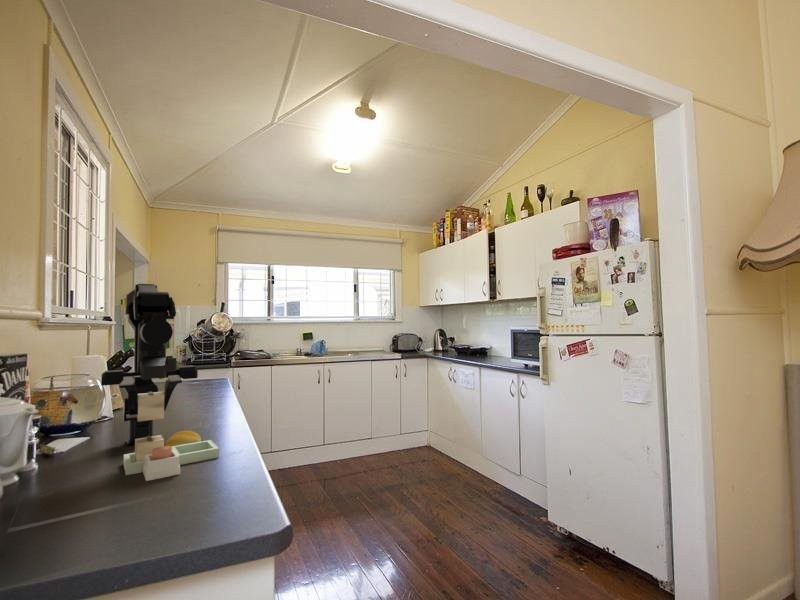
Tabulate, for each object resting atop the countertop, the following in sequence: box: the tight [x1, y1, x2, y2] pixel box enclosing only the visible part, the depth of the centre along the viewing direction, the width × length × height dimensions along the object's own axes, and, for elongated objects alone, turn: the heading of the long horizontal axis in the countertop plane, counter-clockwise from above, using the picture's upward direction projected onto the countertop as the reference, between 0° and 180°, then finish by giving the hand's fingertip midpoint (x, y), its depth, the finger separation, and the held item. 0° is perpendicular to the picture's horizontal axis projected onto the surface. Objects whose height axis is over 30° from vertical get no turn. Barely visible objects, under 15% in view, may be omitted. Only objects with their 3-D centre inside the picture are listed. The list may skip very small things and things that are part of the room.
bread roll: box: [164, 430, 202, 446], centre depth 105 cm, size 8×9×4 cm
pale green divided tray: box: [122, 439, 220, 476], centre depth 93 cm, size 9×18×2 cm, turn 127°
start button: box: [152, 446, 172, 461], centre depth 85 cm, size 4×4×2 cm
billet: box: [137, 391, 165, 422], centre depth 94 cm, size 5×5×6 cm
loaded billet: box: [134, 434, 165, 462], centre depth 90 cm, size 5×5×6 cm
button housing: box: [142, 450, 181, 482], centre depth 84 cm, size 6×6×4 cm
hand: (150, 412), depth 94 cm, fingers closed on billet, 5 cm apart
